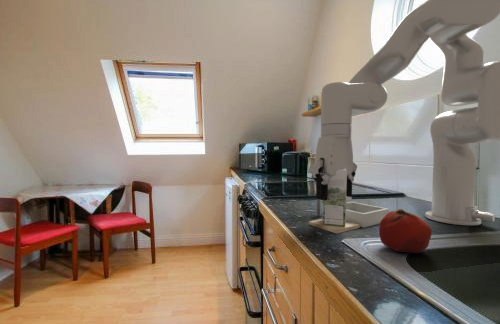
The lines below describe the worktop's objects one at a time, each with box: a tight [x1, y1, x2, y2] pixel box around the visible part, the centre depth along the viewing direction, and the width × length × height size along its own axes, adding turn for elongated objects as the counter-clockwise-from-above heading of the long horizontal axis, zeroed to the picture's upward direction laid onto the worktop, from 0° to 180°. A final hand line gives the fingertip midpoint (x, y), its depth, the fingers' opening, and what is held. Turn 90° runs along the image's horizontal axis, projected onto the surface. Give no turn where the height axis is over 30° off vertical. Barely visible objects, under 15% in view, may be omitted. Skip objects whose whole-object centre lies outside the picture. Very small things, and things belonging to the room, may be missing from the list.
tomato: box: [378, 208, 433, 254], centre depth 50 cm, size 9×9×8 cm
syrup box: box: [321, 168, 347, 226], centre depth 66 cm, size 6×6×14 cm
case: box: [316, 198, 390, 228], centre depth 73 cm, size 15×14×12 cm
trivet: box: [308, 218, 360, 235], centre depth 66 cm, size 9×9×1 cm
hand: (334, 197), depth 66 cm, fingers open, 9 cm apart
